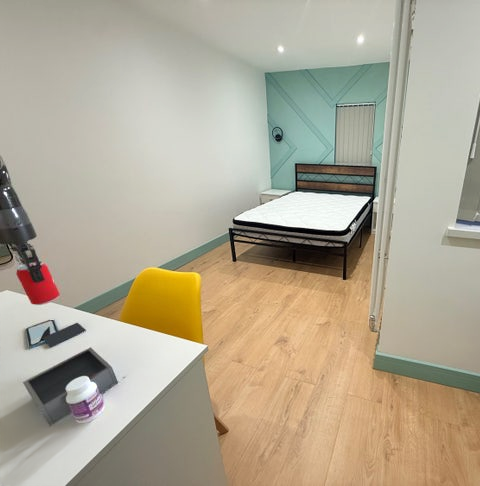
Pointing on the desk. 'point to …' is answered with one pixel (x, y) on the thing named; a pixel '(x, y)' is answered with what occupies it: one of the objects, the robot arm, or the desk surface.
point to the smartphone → (40, 332)
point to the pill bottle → (84, 399)
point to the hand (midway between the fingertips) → (36, 278)
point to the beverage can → (38, 285)
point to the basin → (59, 376)
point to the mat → (63, 334)
